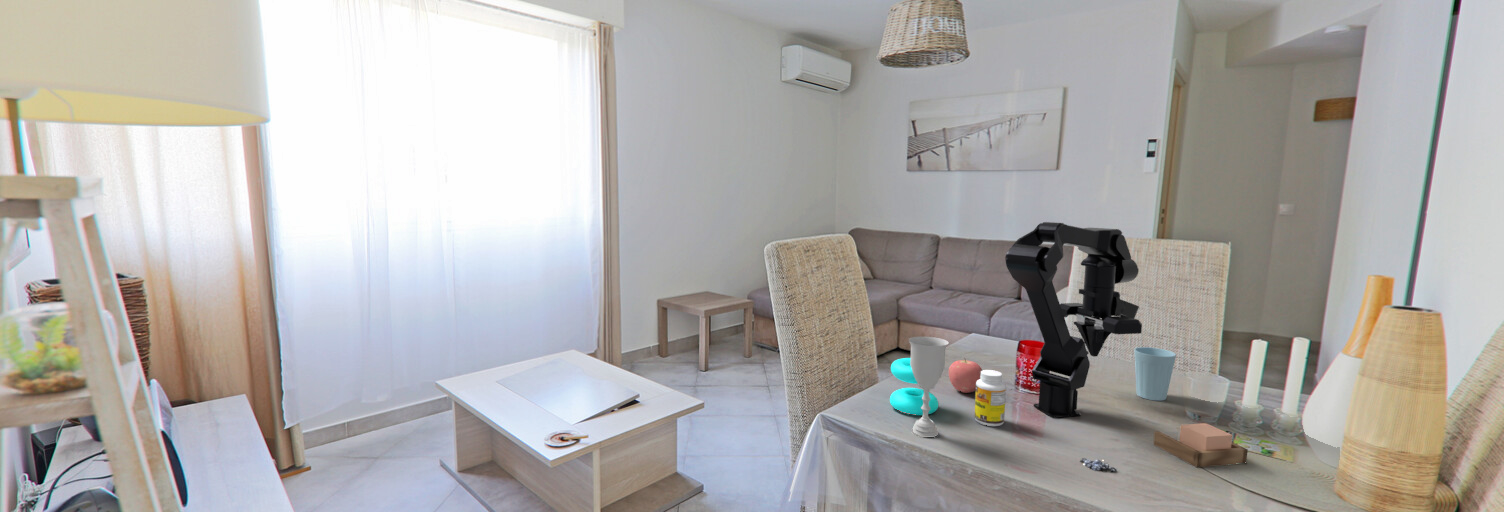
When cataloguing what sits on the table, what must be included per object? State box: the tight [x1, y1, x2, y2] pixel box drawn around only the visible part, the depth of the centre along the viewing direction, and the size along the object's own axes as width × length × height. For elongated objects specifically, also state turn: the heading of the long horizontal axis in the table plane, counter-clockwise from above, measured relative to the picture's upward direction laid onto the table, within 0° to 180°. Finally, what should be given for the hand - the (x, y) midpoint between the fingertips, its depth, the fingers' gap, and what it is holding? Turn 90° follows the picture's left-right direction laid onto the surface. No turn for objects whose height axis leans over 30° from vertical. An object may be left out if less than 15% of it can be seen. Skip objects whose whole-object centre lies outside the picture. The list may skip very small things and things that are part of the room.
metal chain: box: [1079, 457, 1118, 474], centre depth 98 cm, size 7×8×2 cm
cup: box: [1133, 346, 1177, 402], centre depth 130 cm, size 8×8×10 cm
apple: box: [948, 357, 983, 394], centre depth 133 cm, size 7×7×8 cm
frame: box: [1153, 430, 1249, 468], centre depth 102 cm, size 10×9×2 cm
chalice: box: [908, 336, 949, 436], centre depth 110 cm, size 7×7×18 cm
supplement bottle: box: [974, 369, 1007, 427], centre depth 116 cm, size 6×6×10 cm
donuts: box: [889, 357, 939, 416], centre depth 123 cm, size 10×10×10 cm
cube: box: [1178, 422, 1233, 451], centre depth 101 cm, size 5×5×5 cm
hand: (1093, 356), depth 127 cm, fingers closed
